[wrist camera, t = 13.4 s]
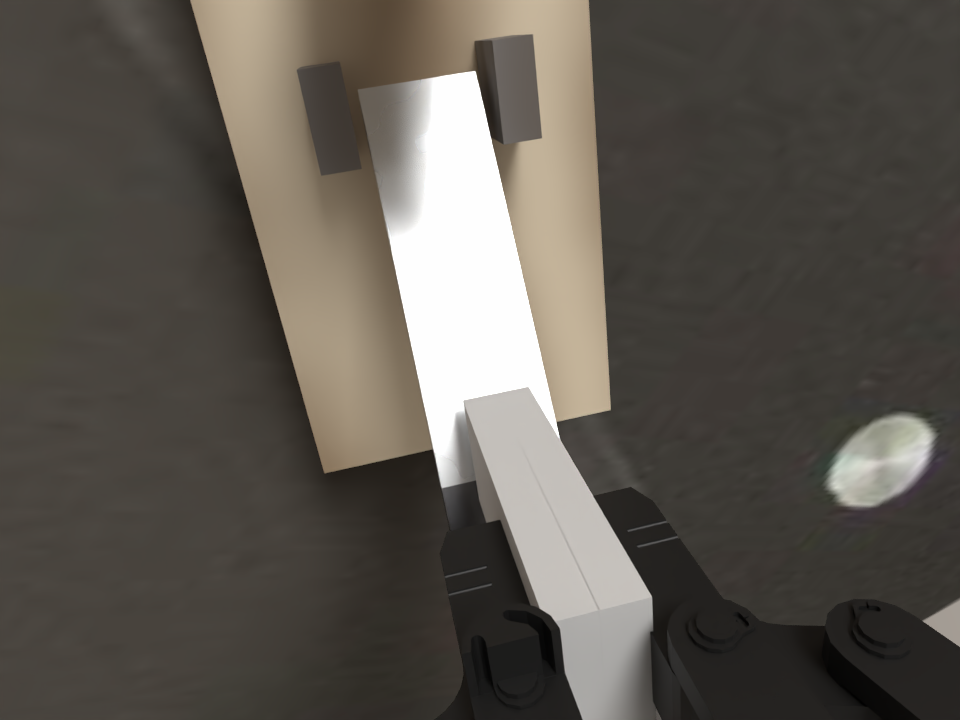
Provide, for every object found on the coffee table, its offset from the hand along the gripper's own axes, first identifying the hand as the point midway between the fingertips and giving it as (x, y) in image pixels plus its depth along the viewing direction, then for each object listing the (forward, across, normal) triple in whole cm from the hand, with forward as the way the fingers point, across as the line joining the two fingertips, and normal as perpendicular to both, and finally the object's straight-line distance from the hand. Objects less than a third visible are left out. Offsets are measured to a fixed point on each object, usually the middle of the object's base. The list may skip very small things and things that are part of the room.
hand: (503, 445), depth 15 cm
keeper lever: (+3, 0, +2) cm, 4 cm away
